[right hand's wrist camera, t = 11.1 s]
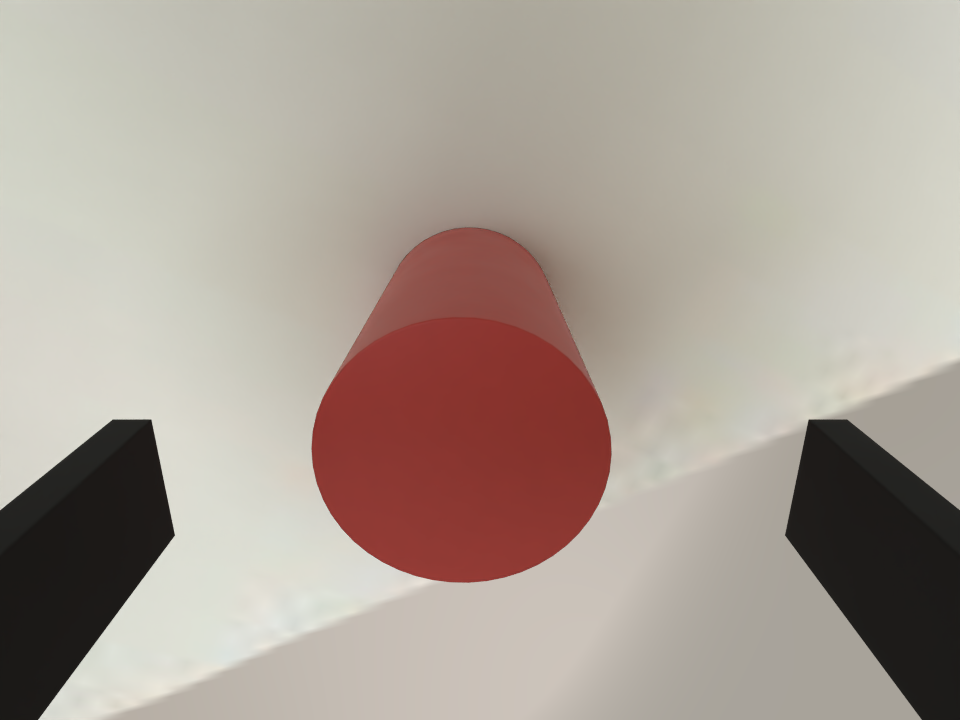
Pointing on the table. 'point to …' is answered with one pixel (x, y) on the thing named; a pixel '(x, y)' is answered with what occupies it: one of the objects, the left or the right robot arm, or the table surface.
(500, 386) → the canister
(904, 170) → the table surface
